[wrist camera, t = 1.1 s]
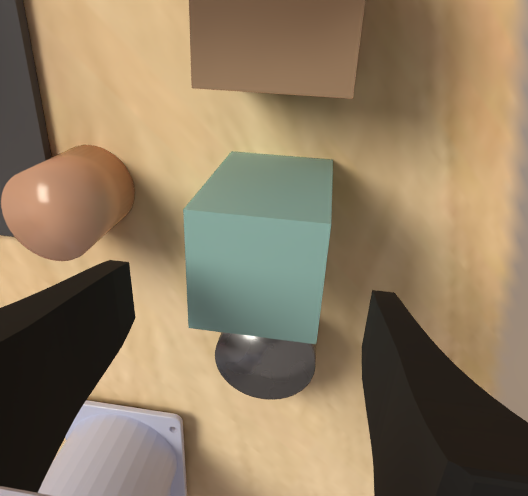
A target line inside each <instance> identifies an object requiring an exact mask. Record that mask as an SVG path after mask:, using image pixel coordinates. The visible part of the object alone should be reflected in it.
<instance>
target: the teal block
mask: <svg viewBox="0 0 528 496" xmlns="http://www.w3.org/2000/svg"><path fill="white" fill-rule="evenodd" d="M332 178H333V160H330V159H318V158H305V157H293V156H281V155H269V154H257V153H245V152H232V151H231V153H230V154H229V155H228V156H227V158H226V159H225V160H224V161H223V162H222V164H221V165H220V166H219V167H218V168H217V170H216V171H215V172H214V173H213V174H212V176H211V177H210V178H209V179H208V180H207V182H206V183H205V184H204V185H203V186H202V188H201V189H200V190H199V191H198V192H197V194H196V195H195V196H194V197H193V199H192V200H191V201H190V202H189V203H188V205H187V206H186V207H185V208H184V209H183V213H184V235H185V258H186V280H187V303H188V325H189V328H194V329H201V330H209V331H217V332H225V333H232V334H240V335H248V336H256V337H264V338H271V339H279V340H287V341H295V342H302V343H310V344H316V343H317V335H318V327H319V319H320V311H321V303H322V294H323V286H324V278H325V270H326V262H327V254H328V246H329V238H330V230H331V214H332Z"/></svg>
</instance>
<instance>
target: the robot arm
mask: <svg viewBox="0 0 528 496" xmlns="http://www.w3.org/2000/svg"><path fill="white" fill-rule="evenodd" d="M134 320H135V311H134V302H133V293H132V284H131V276H130V267H129V262H122V261H113V260H109V261H106V262H103V263H101V264H98V265H96V266H94V267H92V268H89V269H87V270H85V271H83V272H81V273H79V274H77V275H75V276H73V277H70V278H68V279H66V280H64V281H62V282H60V283H58V284H56V285H54V286H51V287H49V288H47V289H45V290H42V291H40V292H38V293H35V294H33V295H31V296H29V297H26V298H24V299H22V300H19V301H17V302H15V303H12V304H9V305H7V306H4V307H1V308H0V496H187V486H186V469H185V452H184V435H183V420H182V418H181V417H180V416H179V415H177V414H174V413H167V412H160V411H154V410H147V409H141V408H134V407H128V406H121V405H114V404H108V403H101V402H95V401H88V400H87V398H88V397H89V395H90V394H91V392H92V391H93V389H94V388H95V386H96V385H97V383H98V382H99V380H100V379H101V377H102V376H103V374H104V373H105V371H106V370H107V368H108V367H109V365H110V364H111V362H112V361H113V359H114V358H115V356H116V355H117V353H118V352H119V350H120V348H121V347H122V345H123V343H124V341H125V339H126V337H127V335H128V333H129V331H130V329H131V326H132V324H133V322H134ZM362 381H363V389H364V396H365V404H366V411H367V418H368V425H369V432H370V439H371V446H372V455H373V466H374V493H375V496H528V423H527V422H526V421H525V420H523V419H522V418H520V417H519V416H517V415H516V414H515V413H513V412H512V411H510V410H509V409H508V408H506V407H505V406H504V405H502V404H501V403H500V402H498V401H497V400H496V399H494V398H493V397H492V396H490V395H489V394H488V393H487V392H486V391H484V390H483V389H482V388H481V387H479V386H478V385H477V384H476V383H475V382H474V381H473V380H471V379H470V378H469V377H468V376H467V375H466V374H465V373H464V372H462V371H461V370H460V369H459V368H458V367H457V366H456V365H455V364H454V363H453V362H452V361H451V360H450V359H449V358H448V357H447V356H446V355H445V354H444V353H443V352H442V351H441V350H440V349H439V348H438V347H437V345H436V344H435V343H434V342H433V341H432V340H431V339H430V337H429V336H428V335H427V334H426V333H425V331H424V330H423V329H422V328H421V327H420V325H419V324H418V323H417V322H416V320H415V319H414V318H413V316H412V315H411V314H410V312H409V311H408V310H407V308H406V307H405V306H404V304H403V303H402V302H401V300H400V299H399V298H398V297H397V295H396V294H395V293H392V292H384V291H375V290H372V295H371V300H370V306H369V311H368V317H367V322H366V327H365V333H364V338H363V343H362ZM64 438H66V442H65V443H64V445H63V447H62V448H61V450H60V451H59V453H58V454H57V452H58V450H59V448H60V446H61V444H62V442H63V440H64ZM56 454H57V456H56ZM55 456H56V457H55ZM54 458H55V459H54Z"/></svg>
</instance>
